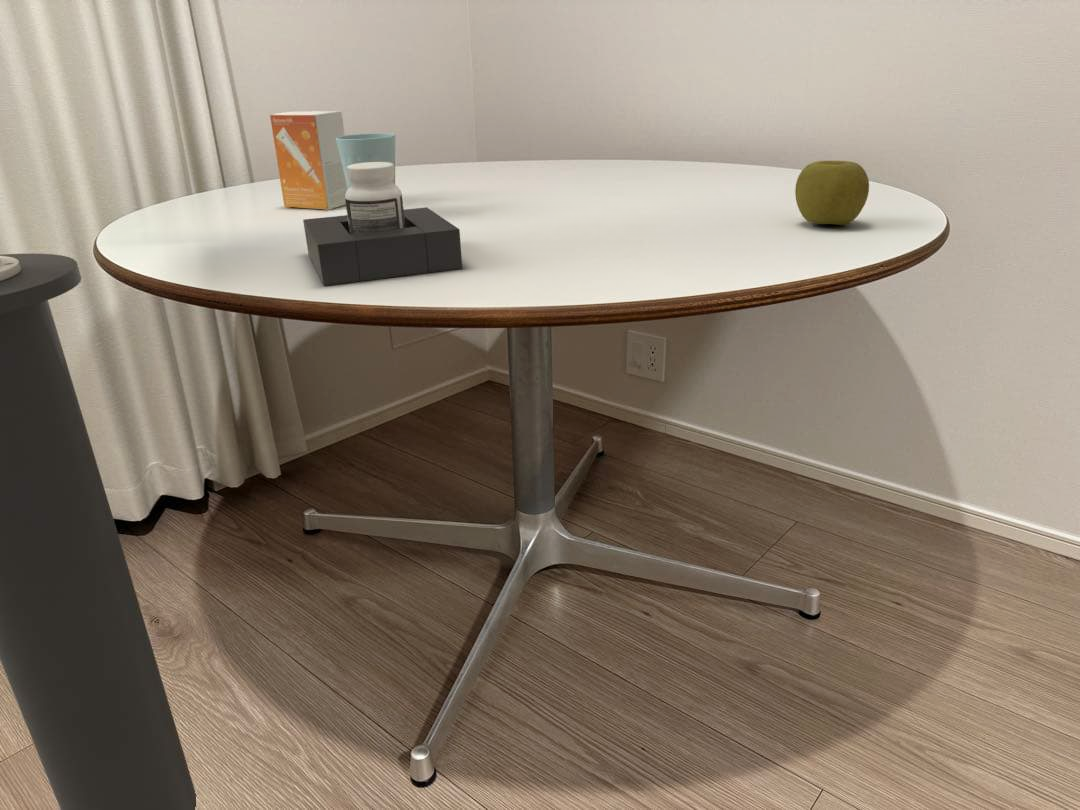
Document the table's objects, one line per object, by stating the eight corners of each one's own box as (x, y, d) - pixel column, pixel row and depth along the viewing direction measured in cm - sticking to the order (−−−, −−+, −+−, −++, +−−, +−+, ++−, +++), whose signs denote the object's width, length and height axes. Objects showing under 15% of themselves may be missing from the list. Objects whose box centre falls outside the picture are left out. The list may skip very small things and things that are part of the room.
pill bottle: (365, 255, 87) (353, 161, 82) (415, 255, 86) (406, 160, 82) (345, 268, 81) (331, 169, 77) (398, 269, 80) (387, 168, 76)
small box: (283, 208, 116) (267, 114, 111) (310, 200, 121) (297, 110, 116) (328, 210, 113) (315, 113, 108) (354, 202, 118) (342, 110, 113)
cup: (335, 220, 106) (324, 138, 101) (363, 210, 112) (354, 133, 108) (385, 222, 103) (377, 138, 99) (412, 211, 110) (404, 133, 106)
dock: (323, 286, 75) (317, 244, 74) (308, 255, 87) (302, 219, 86) (462, 268, 80) (459, 228, 78) (430, 242, 92) (427, 207, 90)
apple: (791, 218, 97) (797, 157, 94) (861, 219, 95) (869, 157, 92) (792, 231, 90) (798, 166, 87) (866, 232, 88) (875, 166, 85)
